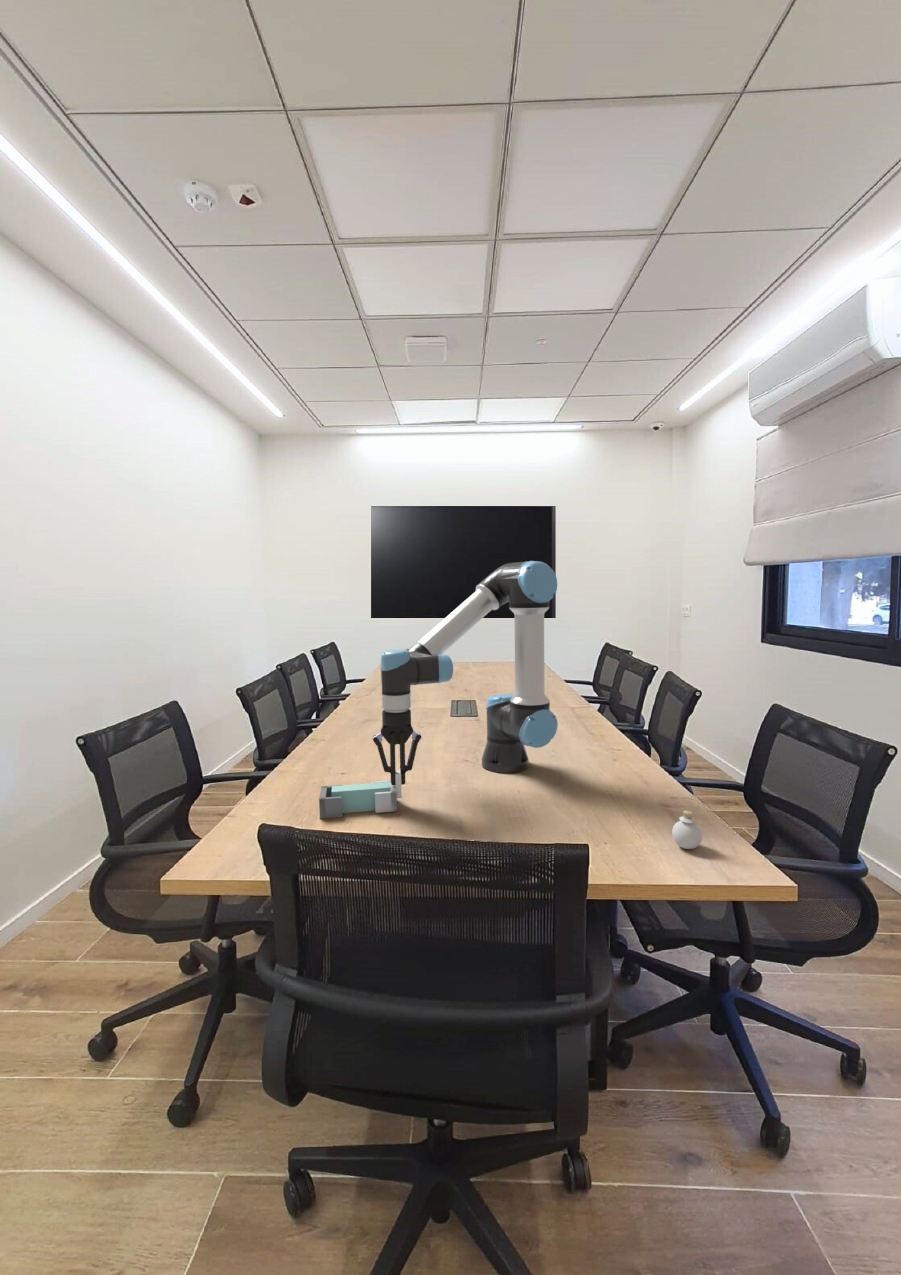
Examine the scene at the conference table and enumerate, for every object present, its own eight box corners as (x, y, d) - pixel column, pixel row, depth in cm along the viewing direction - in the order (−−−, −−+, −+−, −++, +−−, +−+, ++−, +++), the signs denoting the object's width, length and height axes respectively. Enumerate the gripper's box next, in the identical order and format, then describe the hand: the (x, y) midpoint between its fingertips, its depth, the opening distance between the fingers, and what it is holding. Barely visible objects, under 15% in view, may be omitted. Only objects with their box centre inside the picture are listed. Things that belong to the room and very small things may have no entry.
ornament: (668, 840, 122) (669, 798, 121) (702, 841, 122) (703, 798, 121) (676, 853, 116) (678, 809, 115) (712, 855, 116) (714, 810, 115)
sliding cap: (394, 797, 148) (394, 780, 148) (397, 811, 139) (396, 792, 139) (374, 799, 147) (373, 781, 147) (375, 812, 138) (375, 794, 138)
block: (389, 803, 145) (389, 782, 145) (390, 809, 142) (390, 787, 141) (332, 808, 143) (332, 786, 142) (332, 814, 139) (331, 792, 138)
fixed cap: (342, 802, 146) (342, 784, 145) (342, 816, 137) (341, 797, 137) (322, 804, 145) (321, 786, 144) (319, 818, 136) (319, 799, 136)
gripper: (419, 704, 146) (421, 789, 148) (371, 707, 144) (373, 792, 146) (422, 711, 139) (424, 799, 141) (371, 713, 137) (374, 803, 139)
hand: (398, 796), depth 144 cm, fingers closed
